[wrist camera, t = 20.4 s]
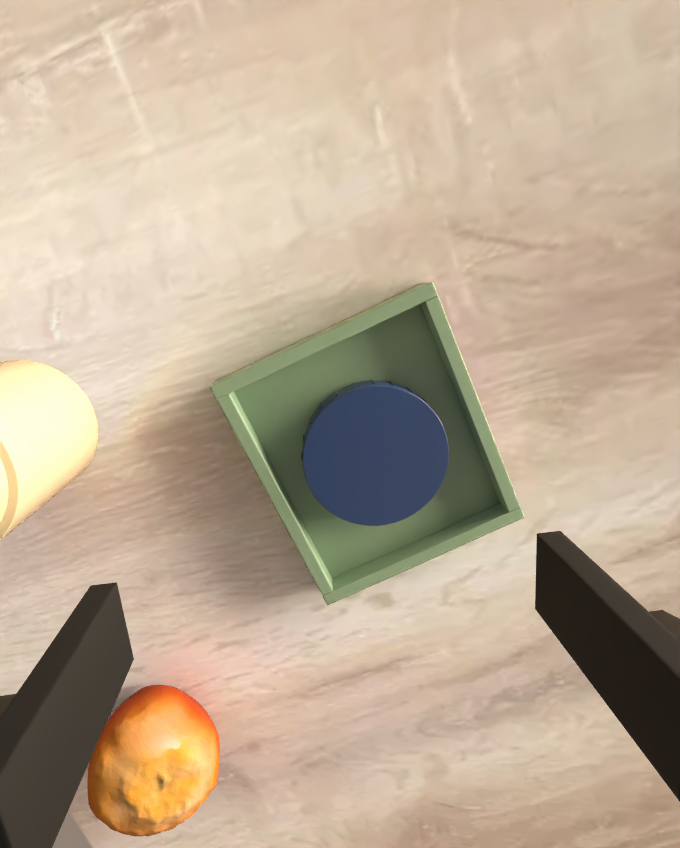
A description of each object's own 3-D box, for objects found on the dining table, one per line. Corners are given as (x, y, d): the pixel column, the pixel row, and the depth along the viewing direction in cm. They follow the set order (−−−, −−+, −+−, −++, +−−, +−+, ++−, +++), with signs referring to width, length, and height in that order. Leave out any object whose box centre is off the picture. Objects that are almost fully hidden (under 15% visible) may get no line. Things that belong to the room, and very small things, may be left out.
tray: (215, 380, 31) (209, 386, 28) (424, 282, 30) (432, 281, 28) (325, 587, 35) (327, 605, 33) (511, 504, 34) (524, 517, 32)
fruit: (56, 746, 34) (52, 813, 27) (148, 647, 38) (165, 684, 31) (142, 813, 36) (160, 891, 29) (223, 713, 40) (255, 762, 33)
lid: (469, 431, 32) (479, 440, 30) (386, 537, 33) (390, 552, 31) (357, 350, 30) (360, 354, 28) (274, 466, 32) (272, 477, 30)
